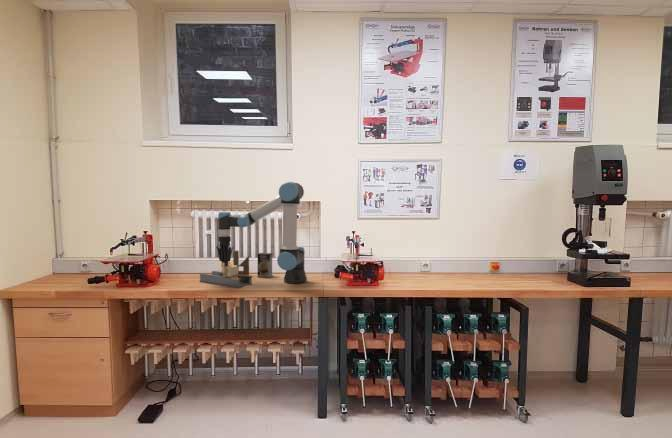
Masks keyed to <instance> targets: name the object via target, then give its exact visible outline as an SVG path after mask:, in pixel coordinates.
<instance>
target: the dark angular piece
mask: <svg viewBox="0 0 672 438" xmlns="http://www.w3.org/2000/svg"><path fill="white" fill-rule="evenodd" d="M239 253H240V251H239V250H232V255H233V256H232V260H233V261H232V263H233V264H232V265H236V266H238V274H239V275H250V256H249V255H248V256H247V257H246V258H245V259H244V260H243V261H242V262H241V263H240V260H239V256H240V255H239ZM239 263H240V264H239ZM239 267H241V268H243V270H240V268H239Z"/></svg>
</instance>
